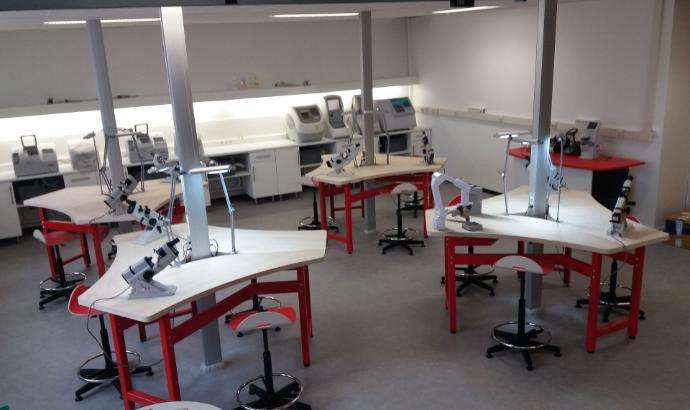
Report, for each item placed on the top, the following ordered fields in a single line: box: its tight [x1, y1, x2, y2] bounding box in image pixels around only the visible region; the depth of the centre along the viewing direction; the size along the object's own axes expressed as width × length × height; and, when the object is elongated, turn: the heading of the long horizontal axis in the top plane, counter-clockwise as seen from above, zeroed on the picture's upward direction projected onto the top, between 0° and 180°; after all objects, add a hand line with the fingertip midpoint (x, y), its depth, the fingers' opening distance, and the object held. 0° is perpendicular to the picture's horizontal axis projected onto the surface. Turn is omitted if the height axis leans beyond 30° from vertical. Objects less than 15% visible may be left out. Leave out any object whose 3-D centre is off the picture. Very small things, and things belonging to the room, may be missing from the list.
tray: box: [461, 221, 483, 232], centre depth 442 cm, size 12×10×4 cm
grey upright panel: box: [460, 184, 483, 215], centre depth 482 cm, size 17×5×25 cm, turn 91°
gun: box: [445, 207, 471, 223], centre depth 467 cm, size 5×27×15 cm, turn 62°
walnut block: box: [459, 209, 470, 219], centre depth 450 cm, size 5×5×6 cm
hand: (464, 214), depth 450 cm, fingers closed on walnut block, 5 cm apart
